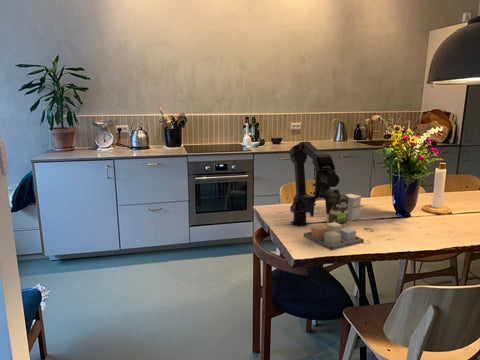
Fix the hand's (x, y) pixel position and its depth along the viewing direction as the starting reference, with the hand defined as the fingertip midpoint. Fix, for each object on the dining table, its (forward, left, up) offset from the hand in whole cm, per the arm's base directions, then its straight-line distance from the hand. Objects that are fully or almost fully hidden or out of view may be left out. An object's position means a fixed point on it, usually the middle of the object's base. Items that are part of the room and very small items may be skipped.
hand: (319, 215), depth 176 cm
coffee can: (-13, +23, -11) cm, 28 cm away
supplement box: (-15, +34, -11) cm, 38 cm away
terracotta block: (0, 0, -11) cm, 11 cm away
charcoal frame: (+4, +5, -11) cm, 13 cm away
